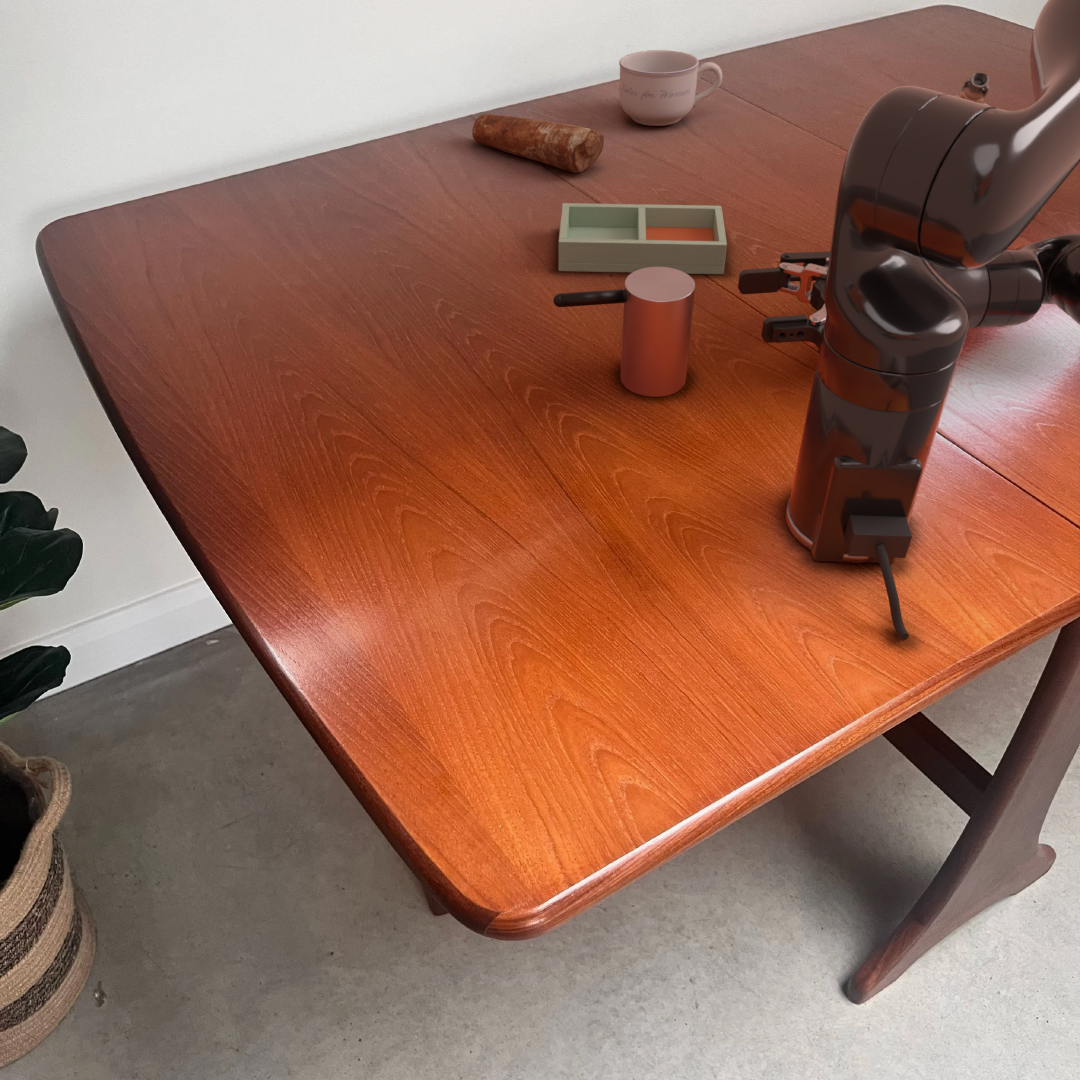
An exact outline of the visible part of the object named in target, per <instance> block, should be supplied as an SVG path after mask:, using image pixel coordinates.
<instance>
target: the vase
mask: <svg viewBox="0 0 1080 1080" xmlns="http://www.w3.org/2000/svg"><path fill="white" fill-rule="evenodd" d="M964 77H965V75H964V76H963V77H962V79H964ZM989 82H990V76H989V74H986V73H983V72H974V73H973V74H972V76H971V77H970V78H966V79H965V81H964V83H963V85H962V87H961V89H960V93H959V95H958V94H954V96H956V97H959V98H963V99H966V100H970V101H974V102H977V103H981V104H984V105H988V106H990V105H989V104H987V102H983V101H984V100H985V98H986V96H987V94H988V92H989V91H990V85H989Z"/></svg>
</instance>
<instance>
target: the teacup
mask: <svg viewBox="0 0 1080 1080" xmlns="http://www.w3.org/2000/svg"><path fill="white" fill-rule="evenodd" d="M618 65H619V101H620V105H621V108H622V110H623V111H624V112H625V114H627V115H628V116H629V117H630V118H631V120H633V121H634V122H635V123H637V124H640V125H643V126H650V127H664V126H669V125H674V124H677V123H678V122H680V121H681V120H682V119H683V118H684V117H685V116H686V115H687V114H689V112H691V110H692V108H696V107H697V106H698V105H699V104H700V103H701V101H703V100H705V99H707V98H709V97H711V96H712V95H713V94H714V93H716V92H717V91H718V89H719V88H720V87H721V85H722V82H723V71H722V69H721V67H720V66H719V65H718V64H717V63H715V62H713V61H708V62H707V61H706V62H704V63H702V64H700V62H699V59H698V58H697V57H696V56H694V55H692V54H691V53H686V52H683V51H676V50H667V49H651V50H641V51H636V52H632V53H631V52H630V53H629V54H626V55H624V56H622V57H621V58H620V59H619V61H618ZM707 71H708V72H709V71H711V72H713V74H714V82H713V83H712V84H711V85H710V86H709V87H707V89H705V90H703V91H701V92H698V93H697V85H698V83H699V82H700V81H701V77H702V76H703V74H704V73H705V72H707Z"/></svg>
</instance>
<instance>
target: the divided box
mask: <svg viewBox="0 0 1080 1080" xmlns="http://www.w3.org/2000/svg"><path fill="white" fill-rule="evenodd" d="M724 221H725V220H724V214H723V207H722V205H704V204H703V205H701V204H699V205H698V204H697V205H696V204H643V203H642V204H640V203H638V204H637V203H636V204H635V203H586V202H585V203H584V202H583V203H581V202H580V203H578V202H577V203H575V202H563V203H562V205H561V216H560V222H559V223H560V225H559V235H558V259H557V260H558V263H557V264H558V268H557V269H558V272H584V273H585V272H587V273H588V272H589V273H590V272H592V273H633V272H634V271H637V270H639V269H643V268H648V267H668V268H673V269H677V270H680V271H683V272H684V273H686V274H688V275H724V274H725V265H726V258H727V257H726V255H727V249H728V241H727V237H726V236H727V235H726V228H725V223H724Z"/></svg>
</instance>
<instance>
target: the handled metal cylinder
mask: <svg viewBox="0 0 1080 1080" xmlns="http://www.w3.org/2000/svg"><path fill="white" fill-rule="evenodd" d="M695 291H696V283H695V280H694V278H692V276H691V275H690V274H686V273H684V272H683V271H680V270H677V269H673V268H668V267H648V268H643V269H639V270H637V271H634V272H633V273H632V272H630V273H629V275H627V276H626V278H625V281H624V288H620V289H606V290H589V291H574V292H560V293H557V294H555V295H554V297H553V304H554V305H555V307H556V308H557V307H558V308H570V307H571V308H573V307H585V306H599V305H600V306H601V305H614V304H623V313H622V315H623V316H622V337H621V355H620V376H619V377H620V379H619V380H620V382H621V384H622V385H623V386H624V387H625V388H626V389H627V390H628V391H629V392H631V393H633V394H637V395H639V396H643V397H650V398H660V397H661V398H662V397H666V396H671V395H674V394H675V393H678V392H679V391H680V390H681V389H682V388H683V387H684V386H685V384H686V381H687V372H688V362H689V352H690V344H691V343H690V341H691V332H692V321H693V311H694V301H695Z"/></svg>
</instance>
